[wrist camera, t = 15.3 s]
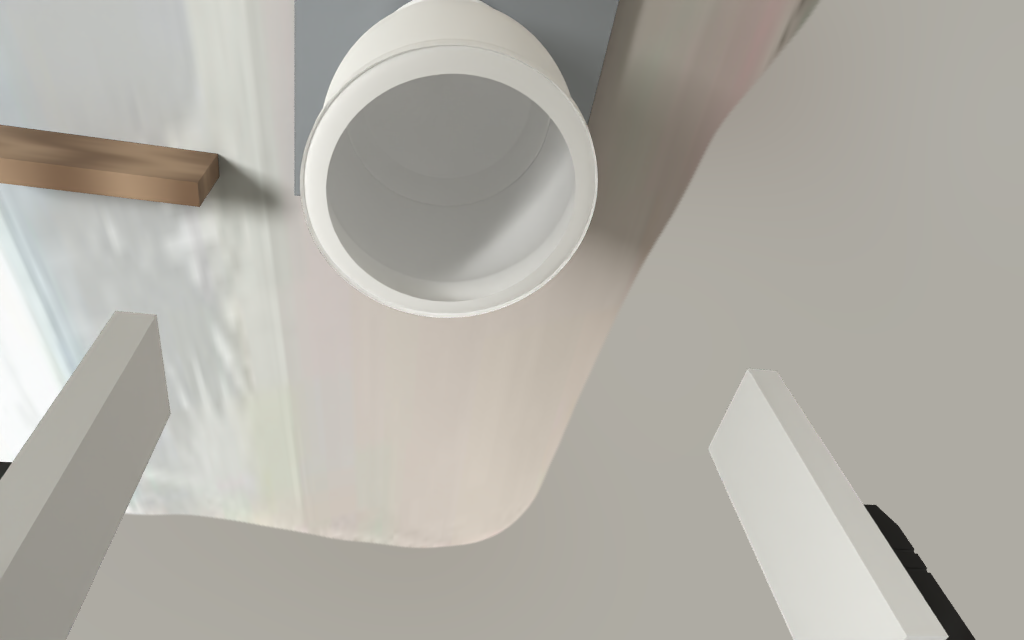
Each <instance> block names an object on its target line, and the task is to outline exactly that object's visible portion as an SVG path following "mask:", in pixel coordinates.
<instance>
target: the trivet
mask: <svg viewBox="0 0 1024 640" xmlns="http://www.w3.org/2000/svg"><path fill="white" fill-rule="evenodd" d="M410 1H412V0H295V195H297V196H301V195H300V171H301V163H302V158H303V153H304V149H305V146H306V143H307V140H308V137H309V135H310V132H311V130H312V128H313V126H314V123H315V121H316V119H317V117H318V115H319V114H320V112H321V110H322V109H323V106H324V102H325V98H326V95H327V92H328V89H329V86H330V84H331V81H332V79H333V77H334V75H335V73H336V71H337V69H338V67H339V65H340V64H341V62H342V60H343V59H344V57H345V56H346V54H347V53H348V52H349V50H350V49H351V48H352V46H353V45H354V44H355V43H356V42H357V41H358V39H359V38H360V37H361V36H362V35H363V34H364V33H365V32H367V31H368V30H369V29H370V28H371V27H372V26H374V25H375V24H376V23H378V22H379V21H380V20H382V19H383V18H385V17H387V16H388V15H390V14H392V13H394V12H395V11H396V10H398V9H399V8H400V7H402V6H403V5H405V4H407V3H408V2H410ZM480 1H482V2H484V3H485V4H487V5H489V6H490V7H492V8H493V9H495V10H498V11H500V12H502V13H504V14H505V15H507V16H509V17H511V18H512V19H514V20H515V21H517V22H518V23H519V24H521V25H522V26H523V27H525V28H526V29H527V30H528V31H529V32H530V33H531V34H533V35H534V36H535V37H536V38H537V40H538V41H539V42H540V43H541V44H542V45H543V46H544V48H545V49H546V50H547V51H548V53H549V54H550V55H551V57H552V58H553V60H554V62H555V63H556V65H557V66H558V68H559V70H560V72H561V74H562V76H563V78H564V80H565V82H566V85H567V87H568V90H569V93H570V96H571V98H572V99H573V100H574V102H575V103H576V105H577V106H578V108H579V110H580V112H581V114H582V116H583V118H584V120H585V122H586V124H587V125H588V121H589V117H590V113H591V109H592V105H593V101H594V97H595V93H596V89H597V85H598V81H599V78H600V74H601V70H602V66H603V62H604V58H605V54H606V50H607V46H608V42H609V38H610V34H611V30H612V26H613V22H614V18H615V14H616V10H617V6H618V3H619V0H480Z"/></svg>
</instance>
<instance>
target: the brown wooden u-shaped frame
mask: <svg viewBox="0 0 1024 640" xmlns="http://www.w3.org/2000/svg"><path fill="white" fill-rule="evenodd" d="M218 178H219V165H218V154H214V153H207V152H199V151H192V150H184V149H177V148H169V147H162V146H154V145H147V144H139V143H132V142H124V141H117V140H110V139H102V138H95V137H87V136H80V135H72V134H65V133H57V132H50V131H42V130H35V129H27V128H20V127H12V126H5V125H0V183H5V184H14V185H22V186H30V187H39V188H47V189H55V190H64V191H72V192H80V193H89V194H97V195H105V196H114V197H122V198H131V199H139V200H147V201H156V202H164V203H172V204H181V205H189V206H197V207H200V206H201V204H202V202H203V201H204V199H205V198H206V196H207V195H208V193H209V192H210V190H211V189H212V187H213V185H214V184H215V182H216V181H217V179H218Z"/></svg>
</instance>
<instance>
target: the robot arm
mask: <svg viewBox="0 0 1024 640" xmlns="http://www.w3.org/2000/svg"><path fill="white" fill-rule="evenodd" d="M170 414H171V413H170V406H169V399H168V392H167V385H166V378H165V371H164V364H163V357H162V350H161V343H160V336H159V329H158V322H157V315H155V314H144V313H133V312H122V311H115V312H114V314H113V315H112V317H111V318H110V320H109V321H108V323H107V324H106V326H105V327H104V328H103V330H102V331H101V333H100V334H99V336H98V337H97V339H96V340H95V342H94V343H93V345H92V346H91V348H90V349H89V350H88V352H87V353H86V355H85V356H84V358H83V359H82V361H81V362H80V364H79V365H78V367H77V368H76V370H75V371H74V372H73V374H72V375H71V377H70V378H69V380H68V381H67V383H66V384H65V386H64V387H63V389H62V390H61V392H60V393H59V395H58V396H57V397H56V399H55V400H54V402H53V403H52V405H51V406H50V408H49V409H48V411H47V412H46V414H45V415H44V417H43V418H42V419H41V421H40V422H39V424H38V425H37V427H36V428H35V430H34V431H33V433H32V434H31V436H30V437H29V439H28V440H27V441H26V443H25V444H24V446H23V447H22V449H21V450H20V452H19V453H18V455H17V456H16V458H15V459H14V461H13V462H0V640H66V639H67V636H68V635H69V632H70V630H71V628H72V625H73V624H74V622H75V619H76V617H77V615H78V613H79V611H80V609H81V606H82V604H83V602H84V600H85V598H86V596H87V593H88V591H89V589H90V587H91V585H92V583H93V580H94V578H95V576H96V574H97V571H98V569H99V567H100V565H101V563H102V561H103V559H104V557H105V554H106V552H107V550H108V548H109V546H110V544H111V542H112V539H113V537H114V535H115V533H116V531H117V528H118V526H119V524H120V522H121V520H122V517H123V516H124V513H125V511H126V509H127V507H128V505H129V503H130V500H131V498H132V496H133V494H134V492H135V490H136V487H137V485H138V483H139V481H140V479H141V477H142V474H143V472H144V470H145V468H146V466H147V464H148V461H149V459H150V457H151V455H152V453H153V451H154V448H155V446H156V444H157V442H158V440H159V438H160V436H161V433H162V431H163V429H164V427H165V425H166V423H167V420H168V418H169V416H170ZM708 451H709V453H710V455H711V457H712V459H713V462H714V464H715V466H716V469H717V471H718V473H719V475H720V477H721V480H722V482H723V484H724V486H725V488H726V491H727V493H728V495H729V497H730V500H731V502H732V504H733V506H734V509H735V511H736V513H737V515H738V518H739V520H740V522H741V524H742V526H743V529H744V531H745V533H746V535H747V538H748V540H749V542H750V544H751V546H752V549H753V551H754V553H755V555H756V558H757V560H758V562H759V564H760V567H761V569H762V571H763V573H764V575H765V578H766V580H767V582H768V584H769V586H770V589H771V591H772V593H773V595H774V598H775V600H776V602H777V604H778V606H779V609H780V611H781V613H782V616H783V618H784V620H785V622H786V624H787V627H788V629H789V631H790V633H791V636H792V638H793V640H975V638H974V637H973V635H972V634H971V632H970V631H969V629H968V628H967V626H966V625H965V623H964V622H963V621H962V619H961V618H960V616H959V615H958V613H957V612H956V610H955V609H954V607H953V606H952V604H951V603H950V601H949V600H948V598H947V597H946V595H945V594H944V593H943V591H942V589H941V588H940V587H939V585H938V584H937V582H936V581H935V579H934V578H933V576H932V575H931V573H928V572H927V570H926V569H927V568H926V566H925V564H924V563H923V561H922V560H921V559H920V557H919V556H918V554H915V553H914V548H913V547H912V545H911V544H910V542H909V541H908V539H907V538H906V536H905V535H904V533H903V532H902V530H901V529H900V528H899V526H898V525H897V524H896V523H894V521H893V520H892V519H890V518H889V517H888V516H887V515H886V514H885V513H884V512H883V511H882V510H880V508H879V507H877V506H876V505H863V503H862V502H861V500H860V499H859V497H858V495H857V494H856V492H855V491H854V489H853V488H852V486H851V485H850V483H849V482H848V480H847V479H846V477H845V476H844V474H843V472H842V471H841V469H840V468H839V466H838V465H837V463H836V462H835V460H834V458H833V457H832V455H831V454H830V452H829V451H828V449H827V448H826V446H825V445H824V443H823V441H822V440H821V438H820V437H819V435H818V434H817V432H816V431H815V429H814V427H813V426H812V424H811V423H810V421H809V420H808V418H807V417H806V415H805V414H804V412H803V410H802V409H801V407H800V406H799V404H798V403H797V401H796V400H795V398H794V397H793V395H792V393H791V392H790V390H789V389H788V387H787V386H786V384H785V383H784V381H783V379H782V378H781V376H780V375H779V374H778V372H777V371H774V370H764V369H763V370H762V369H753V368H748V369H747V371H746V373H745V375H744V377H743V379H742V381H741V383H740V385H739V387H738V389H737V391H736V393H735V395H734V397H733V399H732V401H731V403H730V405H729V407H728V409H727V411H726V413H725V415H724V417H723V419H722V421H721V423H720V425H719V427H718V429H717V431H716V433H715V435H714V437H713V439H712V441H711V443H710V445H709V447H708Z"/></svg>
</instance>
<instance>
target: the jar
mask: <svg viewBox="0 0 1024 640" xmlns="http://www.w3.org/2000/svg"><path fill="white" fill-rule="evenodd" d="M597 189H598V170H597V161H596V155H595V150H594V145H593V141H592V138H591V134H590V131H589V129H588V126H587V124H586V122H585V120H584V118H583V116H582V114H581V112H580V110H579V108H578V106H577V105H576V103H575V102H574V100H573V99H572V98H571V96H570V93H569V90H568V87H567V85H566V82H565V80H564V78H563V76H562V74H561V72H560V70H559V68H558V66H557V65H556V63H555V62H554V60H553V58H552V57H551V55H550V54H549V53H548V51H547V50H546V49H545V48H544V46H543V45H542V44H541V43H540V42H539V41H538V40H537V38H536V37H535V36H534V35H533V34H531V33H530V32H529V31H528V30H527V29H526V28H525V27H523V26H522V25H521V24H519V23H518V22H517V21H515V20H514V19H512V18H511V17H509V16H507V15H505V14H504V13H502V12H500V11H498V10H495V9H493V8H492V7H490V6H489V5H487V4H485V3H484V2H482V1H480V0H412V1H410V2H408V3H407V4H405V5H403V6H402V7H400V8H399V9H398V10H396V11H395V12H394V13H392V14H390V15H388V16H387V17H385V18H383V19H382V20H380V21H379V22H378V23H376V24H375V25H374V26H372V27H371V28H370V29H369V30H368V31H367V32H365V33H364V34H363V35H362V36H361V37H360V38H359V39H358V41H357V42H356V43H355V44H354V45H353V46H352V48H351V49H350V50H349V52H348V53H347V54H346V56H345V57H344V59H343V60H342V62H341V64H340V65H339V67H338V69H337V71H336V73H335V75H334V77H333V79H332V81H331V84H330V86H329V89H328V92H327V95H326V98H325V102H324V106H323V109H322V110H321V112H320V114H319V115H318V117H317V119H316V121H315V123H314V126H313V128H312V130H311V132H310V135H309V137H308V140H307V143H306V146H305V149H304V153H303V158H302V163H301V171H300V195H301V203H302V208H303V213H304V217H305V220H306V223H307V226H308V229H309V231H310V234H311V236H312V238H313V240H314V242H315V244H316V246H317V247H318V249H319V251H320V252H321V254H322V255H323V257H324V258H325V259H326V261H327V262H328V263H329V264H330V266H331V267H332V268H333V269H334V270H335V271H336V272H337V273H338V274H339V275H340V276H341V277H342V278H343V279H344V280H345V281H346V282H347V283H349V284H350V285H351V286H352V287H354V288H355V289H356V290H358V291H359V292H361V293H362V294H364V295H366V296H367V297H369V298H371V299H373V300H374V301H376V302H378V303H381V304H383V305H385V306H388V307H390V308H393V309H396V310H399V311H402V312H406V313H410V314H414V315H419V316H426V317H437V318H457V317H467V316H474V315H480V314H484V313H488V312H492V311H495V310H498V309H501V308H504V307H506V306H509V305H511V304H513V303H516V302H518V301H520V300H522V299H523V298H525V297H527V296H529V295H530V294H532V293H534V292H535V291H537V290H538V289H539V288H541V287H542V286H543V285H545V284H546V283H547V282H548V281H550V280H551V279H552V278H553V277H554V276H555V275H556V274H557V273H558V272H559V271H560V270H561V269H562V268H563V267H564V266H565V265H566V264H567V262H568V261H569V260H570V259H571V257H572V256H573V254H574V253H575V252H576V250H577V248H578V247H579V245H580V243H581V242H582V240H583V238H584V236H585V234H586V232H587V229H588V227H589V224H590V222H591V219H592V216H593V212H594V208H595V203H596V198H597Z"/></svg>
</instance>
